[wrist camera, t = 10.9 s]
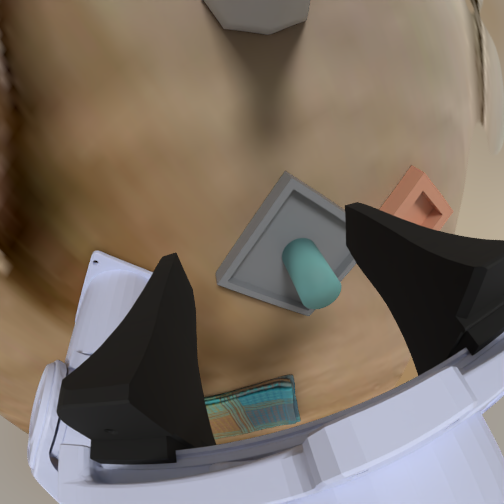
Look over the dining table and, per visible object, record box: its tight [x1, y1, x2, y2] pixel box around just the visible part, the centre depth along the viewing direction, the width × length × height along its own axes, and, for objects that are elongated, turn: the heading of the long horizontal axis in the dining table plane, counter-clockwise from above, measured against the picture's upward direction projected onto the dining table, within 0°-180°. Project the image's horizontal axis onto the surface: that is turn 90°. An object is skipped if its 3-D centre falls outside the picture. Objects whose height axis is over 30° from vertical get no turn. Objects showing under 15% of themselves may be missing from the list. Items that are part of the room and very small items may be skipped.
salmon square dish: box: [379, 165, 453, 231], centre depth 23 cm, size 7×7×2 cm
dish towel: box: [204, 375, 301, 439], centre depth 39 cm, size 17×23×2 cm
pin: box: [282, 238, 341, 309], centre depth 21 cm, size 3×3×5 cm
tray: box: [216, 171, 356, 316], centre depth 23 cm, size 10×10×2 cm
